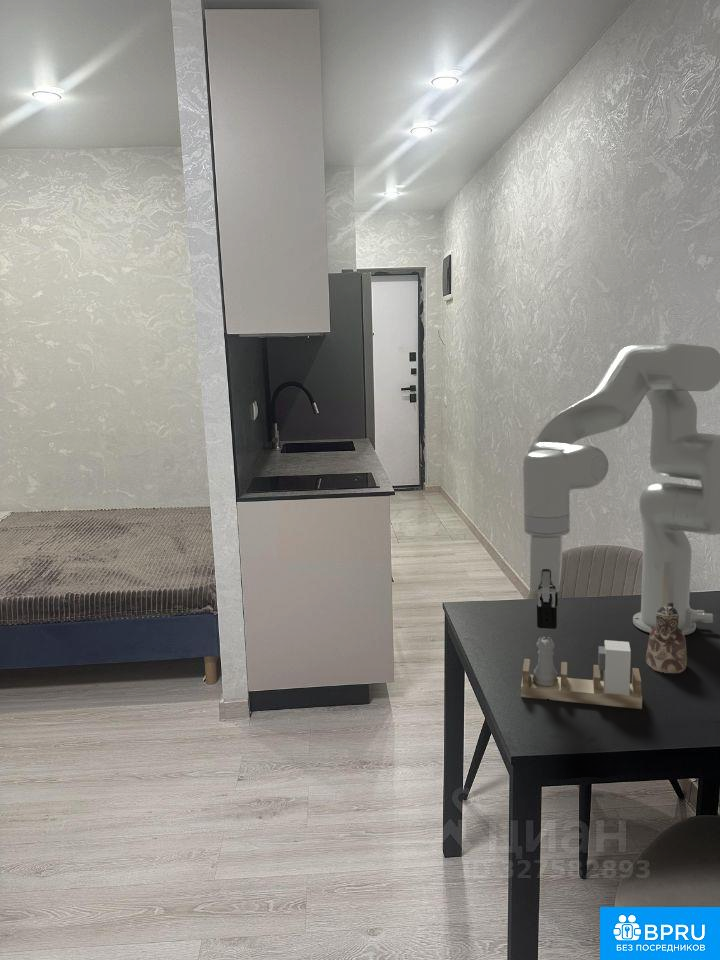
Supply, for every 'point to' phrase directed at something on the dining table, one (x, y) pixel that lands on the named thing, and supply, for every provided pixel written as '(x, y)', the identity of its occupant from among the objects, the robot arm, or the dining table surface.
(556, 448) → the robot arm
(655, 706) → the dining table surface
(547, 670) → the rook chess piece
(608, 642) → the white and grey block
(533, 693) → the wooden slotted rack
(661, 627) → the figurine
